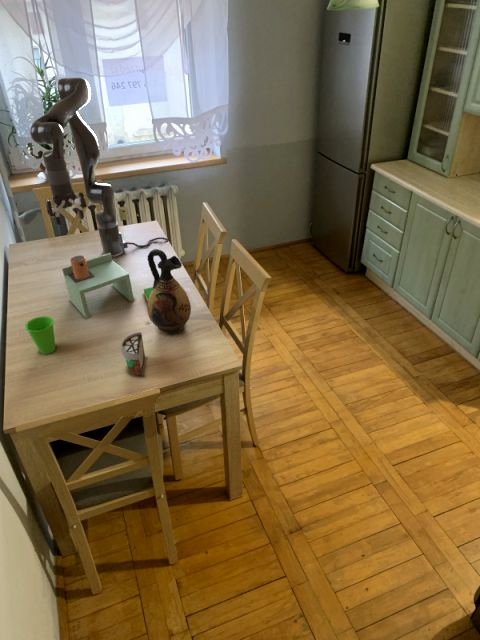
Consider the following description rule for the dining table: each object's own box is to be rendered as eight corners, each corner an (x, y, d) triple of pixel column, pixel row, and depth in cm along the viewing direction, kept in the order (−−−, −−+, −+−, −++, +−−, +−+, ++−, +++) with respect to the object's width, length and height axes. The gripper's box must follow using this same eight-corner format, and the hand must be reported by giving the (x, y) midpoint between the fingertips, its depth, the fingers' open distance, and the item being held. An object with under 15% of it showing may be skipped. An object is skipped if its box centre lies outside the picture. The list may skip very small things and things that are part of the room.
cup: (66, 344, 163) (59, 318, 157) (50, 360, 156) (41, 333, 150) (45, 339, 166) (37, 314, 159) (28, 355, 158) (18, 328, 152)
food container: (127, 356, 156) (122, 332, 151) (145, 355, 157) (141, 331, 151) (122, 381, 146) (117, 356, 141) (142, 379, 147) (137, 354, 141)
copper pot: (84, 270, 182) (80, 252, 178) (92, 277, 177) (88, 260, 172) (71, 274, 179) (66, 257, 175) (79, 282, 174) (74, 264, 170)
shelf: (116, 284, 197) (109, 252, 188) (133, 300, 186) (127, 266, 177) (70, 301, 187) (61, 268, 178) (86, 318, 176) (77, 284, 168)
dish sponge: (161, 290, 192) (160, 285, 190) (169, 306, 181) (169, 301, 180) (144, 294, 190) (143, 288, 188) (152, 311, 179) (151, 305, 178)
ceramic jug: (200, 320, 173) (193, 246, 156) (179, 343, 162) (169, 267, 145) (161, 310, 179) (151, 238, 162) (138, 332, 168) (124, 257, 151)
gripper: (44, 188, 163) (56, 230, 172) (82, 178, 170) (92, 219, 179) (36, 182, 167) (49, 224, 177) (74, 173, 174) (84, 214, 184)
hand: (70, 222), depth 178 cm, fingers open, 8 cm apart
